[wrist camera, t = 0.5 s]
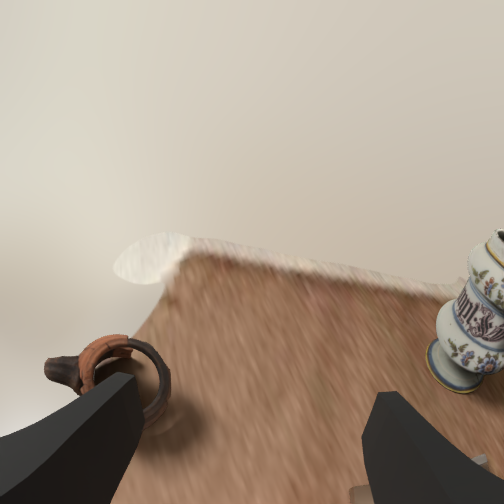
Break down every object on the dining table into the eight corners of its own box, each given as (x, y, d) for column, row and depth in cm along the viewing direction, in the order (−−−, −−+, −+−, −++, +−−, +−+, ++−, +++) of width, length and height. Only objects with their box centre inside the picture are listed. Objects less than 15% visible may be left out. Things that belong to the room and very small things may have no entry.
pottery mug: (154, 348, 32) (173, 325, 27) (165, 431, 28) (187, 431, 22) (49, 342, 27) (38, 317, 21) (53, 430, 22) (41, 432, 16)
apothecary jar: (481, 342, 36) (540, 239, 26) (492, 406, 26) (579, 294, 16) (416, 324, 39) (470, 209, 29) (417, 391, 29) (501, 260, 19)
